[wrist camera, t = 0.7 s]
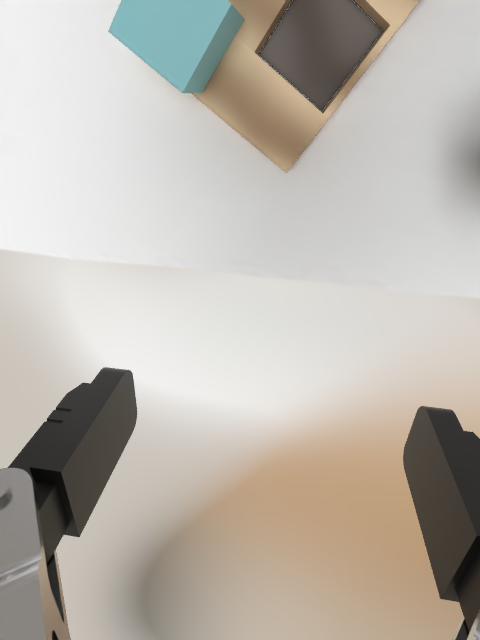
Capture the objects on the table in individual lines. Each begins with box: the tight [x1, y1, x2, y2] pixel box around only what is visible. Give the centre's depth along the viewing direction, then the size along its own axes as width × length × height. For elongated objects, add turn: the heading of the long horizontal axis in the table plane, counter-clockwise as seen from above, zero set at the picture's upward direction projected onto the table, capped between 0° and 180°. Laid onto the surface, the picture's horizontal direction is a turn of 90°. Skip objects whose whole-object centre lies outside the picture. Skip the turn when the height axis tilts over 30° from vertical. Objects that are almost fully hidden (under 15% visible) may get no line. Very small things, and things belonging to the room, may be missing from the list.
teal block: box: [108, 0, 245, 93], centre depth 23 cm, size 5×5×5 cm
